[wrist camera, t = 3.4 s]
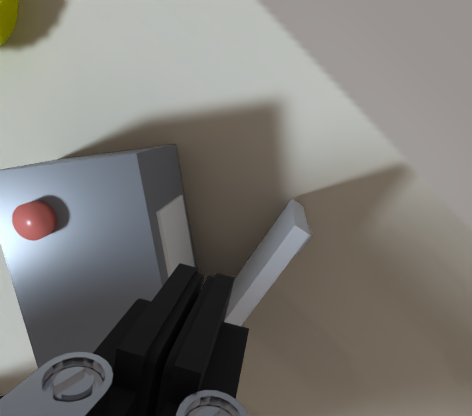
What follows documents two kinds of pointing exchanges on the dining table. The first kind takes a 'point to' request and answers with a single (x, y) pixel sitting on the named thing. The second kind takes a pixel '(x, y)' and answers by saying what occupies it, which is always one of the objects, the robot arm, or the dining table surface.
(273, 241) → the side door
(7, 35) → the gear
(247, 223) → the dining table surface
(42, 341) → the camera case
